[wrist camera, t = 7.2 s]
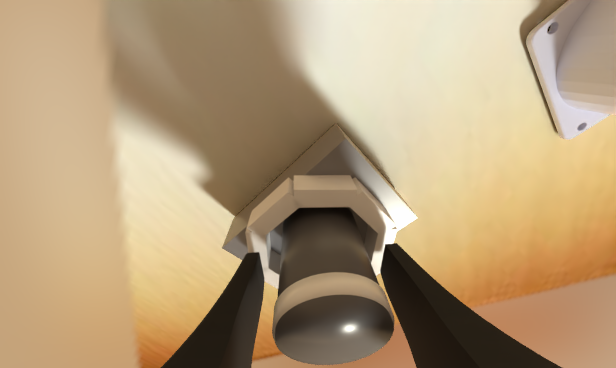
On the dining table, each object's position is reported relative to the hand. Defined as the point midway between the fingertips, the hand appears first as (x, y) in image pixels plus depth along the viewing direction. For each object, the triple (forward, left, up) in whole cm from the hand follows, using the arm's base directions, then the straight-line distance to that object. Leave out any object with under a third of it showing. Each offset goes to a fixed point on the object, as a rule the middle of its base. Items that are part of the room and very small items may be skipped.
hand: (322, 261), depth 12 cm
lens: (0, 0, -2) cm, 2 cm away
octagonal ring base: (0, 0, -5) cm, 5 cm away
